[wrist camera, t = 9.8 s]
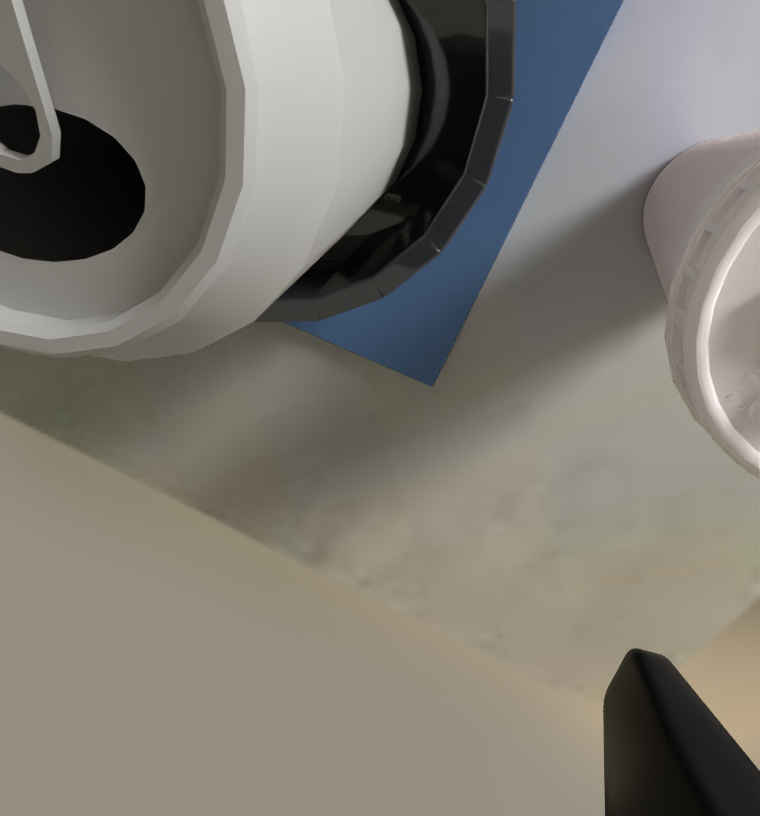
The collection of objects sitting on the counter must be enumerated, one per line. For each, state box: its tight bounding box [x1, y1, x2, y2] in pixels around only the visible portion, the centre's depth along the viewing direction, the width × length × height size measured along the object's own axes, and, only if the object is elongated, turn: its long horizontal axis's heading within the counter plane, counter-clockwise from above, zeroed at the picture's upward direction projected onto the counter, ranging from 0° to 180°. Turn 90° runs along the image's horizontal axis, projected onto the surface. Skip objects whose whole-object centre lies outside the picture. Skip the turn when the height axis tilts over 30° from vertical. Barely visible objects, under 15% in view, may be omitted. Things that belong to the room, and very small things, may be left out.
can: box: [0, 0, 422, 362], centre depth 12 cm, size 8×8×12 cm
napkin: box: [285, 0, 623, 387], centre depth 18 cm, size 14×14×1 cm
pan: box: [254, 0, 516, 322], centre depth 16 cm, size 11×11×4 cm
